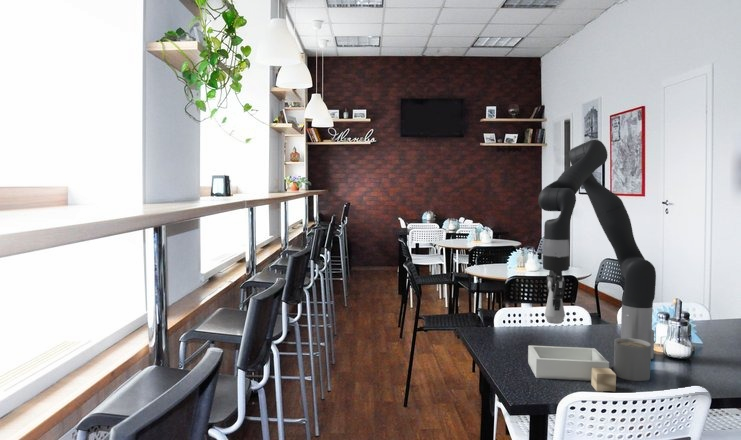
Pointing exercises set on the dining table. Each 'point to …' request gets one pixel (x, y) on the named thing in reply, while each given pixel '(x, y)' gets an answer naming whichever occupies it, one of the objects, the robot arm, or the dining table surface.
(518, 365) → the dining table surface
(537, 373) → the tray
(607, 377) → the beech cube
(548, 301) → the salt shaker
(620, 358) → the coffee mug
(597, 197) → the robot arm
